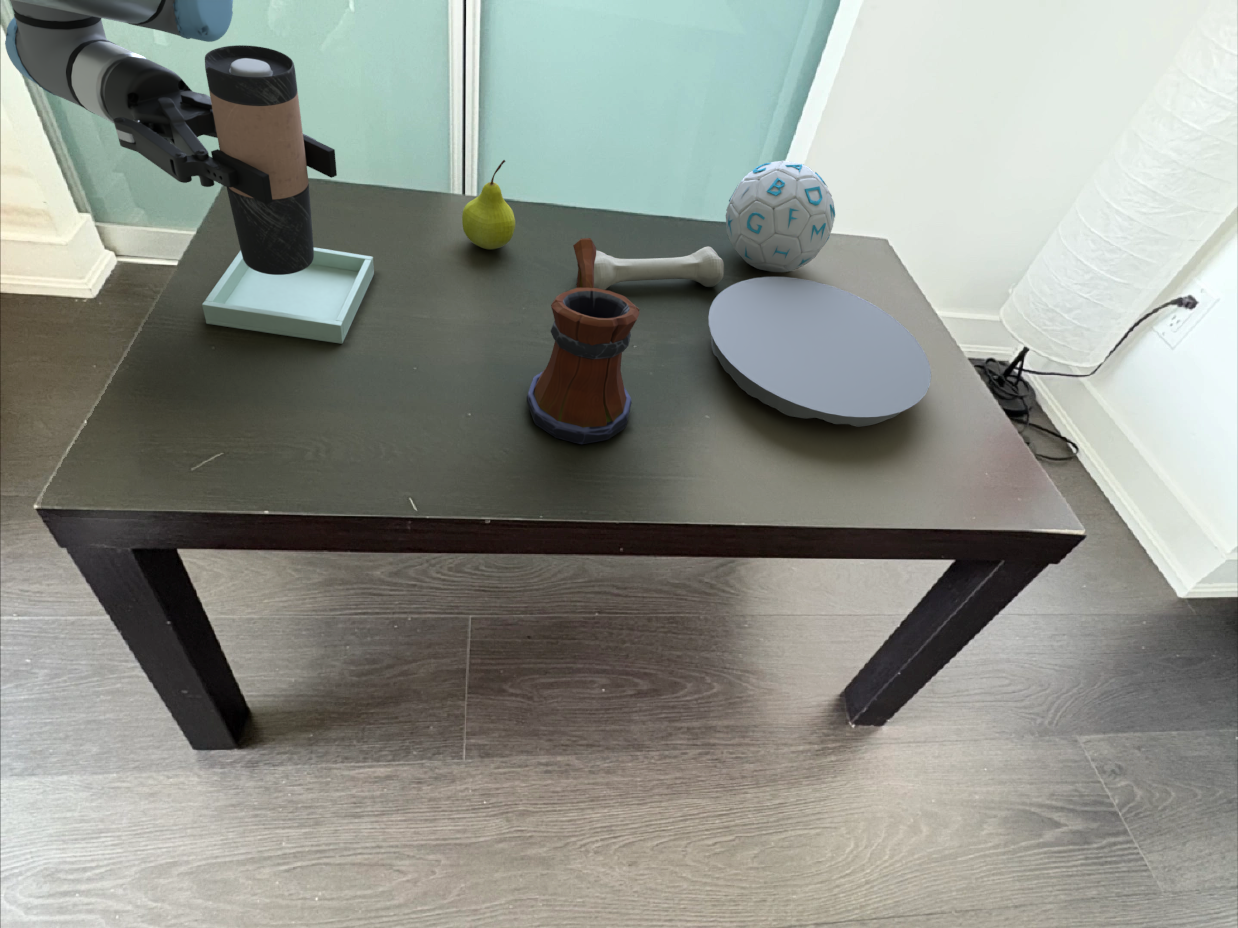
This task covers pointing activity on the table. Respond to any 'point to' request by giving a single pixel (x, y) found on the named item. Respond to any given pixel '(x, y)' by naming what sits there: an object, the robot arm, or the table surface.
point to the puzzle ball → (780, 216)
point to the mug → (585, 360)
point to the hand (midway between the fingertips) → (301, 176)
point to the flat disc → (817, 351)
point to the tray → (293, 297)
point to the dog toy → (659, 268)
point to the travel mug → (264, 153)
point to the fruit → (489, 218)
